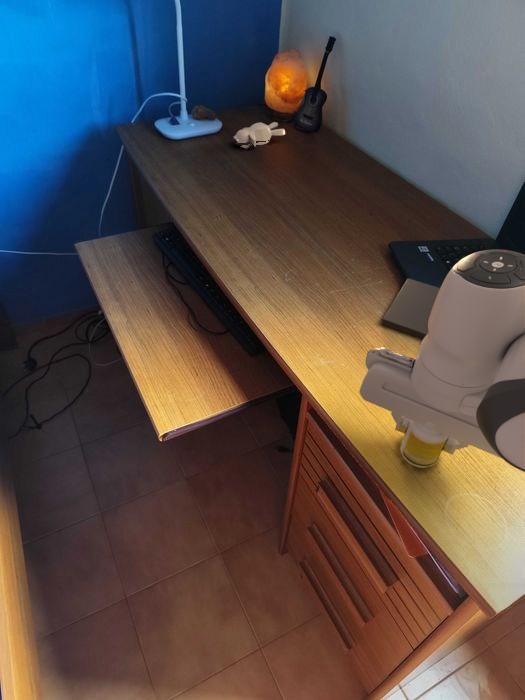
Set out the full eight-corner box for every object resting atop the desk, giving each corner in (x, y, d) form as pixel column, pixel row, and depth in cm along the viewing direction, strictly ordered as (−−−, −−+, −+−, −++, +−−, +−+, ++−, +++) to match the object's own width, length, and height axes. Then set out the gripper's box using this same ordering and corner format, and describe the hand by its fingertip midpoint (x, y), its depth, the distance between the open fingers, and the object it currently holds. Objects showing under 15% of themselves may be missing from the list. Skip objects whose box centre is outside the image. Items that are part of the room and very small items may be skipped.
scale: (484, 308, 89) (490, 296, 87) (464, 358, 80) (469, 346, 78) (406, 283, 95) (409, 271, 92) (379, 327, 86) (382, 315, 84)
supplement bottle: (442, 469, 66) (462, 429, 59) (403, 468, 66) (418, 429, 59) (433, 436, 69) (451, 396, 62) (396, 436, 70) (410, 395, 63)
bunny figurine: (229, 127, 142) (274, 114, 144) (232, 144, 146) (275, 130, 148) (239, 139, 136) (286, 124, 138) (242, 156, 140) (287, 141, 142)
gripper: (359, 359, 57) (347, 423, 67) (538, 429, 49) (494, 490, 59) (378, 328, 61) (363, 394, 71) (547, 389, 53) (504, 453, 63)
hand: (424, 438), depth 65 cm, fingers closed on supplement bottle, 5 cm apart
